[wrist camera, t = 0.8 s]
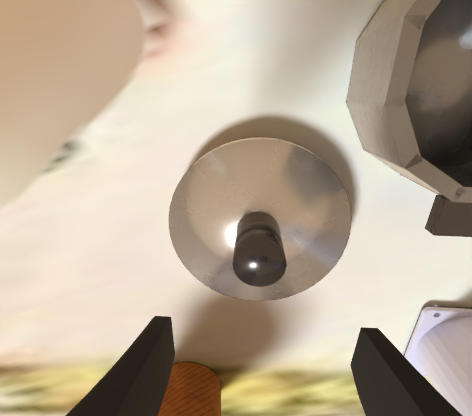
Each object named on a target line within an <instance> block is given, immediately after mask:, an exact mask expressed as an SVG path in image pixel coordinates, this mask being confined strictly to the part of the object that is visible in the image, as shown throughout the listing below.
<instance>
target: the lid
mask: <svg viewBox="0 0 472 416" xmlns="http://www.w3.org/2000/svg"><path fill="white" fill-rule="evenodd" d="M350 229H351V210H350V204H349V200H348V197H347V194H346V191H345V189H344V187H343V185H342V183H341V181H340V180H339V178H338V177H337V176H336V174H335V173H334V172H333V170H332V169H331V168H330V167H329V166H328V165H327V164H326V163H325V162H324V161H323V160H322V159H320V158H319V157H318V156H316V155H315V154H314V153H312V152H311V151H309V150H307V149H305V148H304V147H302V146H300V145H297V144H295V143H292V142H289V141H286V140H281V139H277V138H269V137H250V138H244V139H238V140H234V141H231V142H228V143H225V144H223V145H221V146H219V147H216V148H214V149H213V150H211V151H210V152H208V153H206V154H205V155H203V156H202V157H201V158H200V159H199V160H198V161H196V162H195V163H194V164H193V165H192V167H191V168H190V169H189V170H188V171H187V172H186V174H185V175H184V176H183V178H182V179H181V181H180V182H179V184H178V186H177V188H176V190H175V192H174V195H173V197H172V201H171V205H170V211H169V230H170V236H171V240H172V243H173V246H174V249H175V251H176V253H177V255H178V257H179V258H180V260H181V261H182V263H183V265H184V266H185V267H186V268H187V269H188V271H189V272H190V273H191V274H192V275H193V276H194V277H196V278H197V279H198V280H199V281H200V282H202V283H203V284H205V285H206V286H208V287H209V288H211V289H213V290H215V291H217V292H219V293H222V294H224V295H227V296H230V297H233V298H238V299H243V300H251V301H267V300H276V299H281V298H286V297H289V296H292V295H295V294H297V293H300V292H302V291H304V290H306V289H308V288H310V287H311V286H313V285H315V284H316V283H317V282H319V281H320V280H321V279H323V278H324V277H325V276H326V275H327V274H328V273H329V272H330V271H331V270H332V268H333V267H334V266H335V265H336V264H337V262H338V261H339V259H340V257H341V256H342V254H343V252H344V250H345V247H346V245H347V242H348V239H349V235H350Z"/></svg>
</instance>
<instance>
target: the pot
mask: <svg viewBox="0 0 472 416" xmlns="http://www.w3.org/2000/svg"><path fill="white" fill-rule="evenodd" d="M356 42H357V43H356V49H355V54H354V60H353V66H352V72H351V78H350V83H349V89H348V95H347V101H346V103H347V106H348V109H349V111H350V114H351V117H352V120H353V122H354V125H355V128H356V130H357V133H358V136H359V139H360V141H361V144H362V147H363V149H364V150H365V151H367V152H368V153H370V154H371V155H373V156H374V157H376V158H377V159H379V160H380V161H382V162H383V163H385V164H386V165H388V166H389V167H390V168H392V169H393V170H395V171H396V172H398V173H399V174H400V175H402V176H404V177H406V178H408V179H410V180H412V181H414V182H415V183H417V184H419V185H421V186H423V187H425V188H427V189H429V190H431V191H433V192H434V193H436V194H438V195H436V197H435V200H434V203H433V206H432V209H431V212H430V215H429V218H428V221H427V224H426V226H425V229H426V230H428V231H429V232H430V233H432V234H433V235H438V236H463V237H472V0H384V2H383V3H382V4H381V6H380V7H379V9H378V10H377V12H376V13H375V15H374V16H373V18H372V19H371V21H370V22H369V24H368V25H367V27H366V28H365V30H364V31H363V33H362V34H361V36H360V37H359V38H358V40H357V41H356Z"/></svg>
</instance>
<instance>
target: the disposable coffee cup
mask: <svg viewBox="0 0 472 416" xmlns="http://www.w3.org/2000/svg"><path fill="white" fill-rule="evenodd" d="M158 416H221V382H220V379H219V377H218V376H217V375H216V374H215V372H213V371H212V370H211V369H209V368H207V367H205V366H203V365H200V364H197V363H189V362H183V363H177V364H174V365H172V370H171V374H170V378H169V383H168V386H167V389H166V392H165V395H164V398H163V401H162V404H161V407H160V410H159V413H158Z"/></svg>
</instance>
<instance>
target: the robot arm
mask: <svg viewBox="0 0 472 416" xmlns="http://www.w3.org/2000/svg"><path fill="white" fill-rule="evenodd" d="M174 356H175V350H174V341H173V332H172V322H171V317H163V316H155V317H154V318H153V319H152V320H151V321H150V322H149V324H148V325H147V326H146V328H145V329H144V330H143V331H142V333H141V334H140V335H139V336H138V338H137V339H136V340H135V341H134V342H133V344H132V345H131V346H130V347H129V348H128V350H127V351H126V352H125V353H124V354H123V355H122V357H121V358H120V359H119V360H118V361H117V362H116V363H115V365H114V366H113V367H112V368H111V369H110V370H109V371H108V373H107V374H106V375H105V376H104V377H103V378H102V379H101V380H100V381H99V382H98V383H97V384H96V385H95V386H94V387H93V388H92V390H91V391H90V392H89V393H88V394H87V395H86V396H85V397H84V398H83V399H82V400H81V401H80V402H79V403H78V404H77V405H76V406H75V407H74V408H73V409H72V410H71V411H70V412H69V413H68V414H67V415H66V416H158V413H159V410H160V407H161V404H162V401H163V398H164V395H165V392H166V389H167V386H168V383H169V378H170V374H171V370H172V365H173V361H174ZM351 369H352V373H353V377H354V380H355V384H356V388H357V391H358V395H359V398H360V401H361V404H362V406H363V409H364V412H365V414H366V416H472V309H462V308H443V307H426V308H424V309H423V310H422V312H421V315H420V317H419V320H418V322H417V325H416V327H415V330H414V332H413V335H412V337H411V340H410V342H409V345H408V348H407V350H406V353H405V355H404V356H403V355H402V354H401V353H400V352H399V351H398V349H397V348H396V347H395V346H394V345H393V344H392V343H391V342H390V341H389V340H388V339H387V338H386V337H385V335H384V334H383V333H382V332H381V331H380V330H379V329H378V328H361V330H360V333H359V337H358V340H357V344H356V347H355V351H354V355H353V358H352V362H351ZM423 376H426V377H428V379H429V381H430V382H431V384H432V385H433V386H432V385H431V384H430V383H429V382H428V381H427V380H426V379H425V378H424V377H423Z"/></svg>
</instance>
